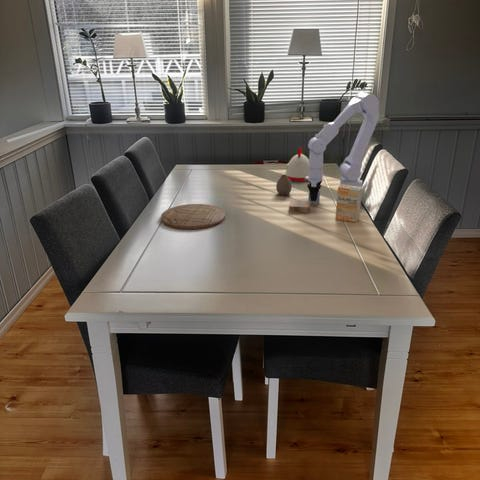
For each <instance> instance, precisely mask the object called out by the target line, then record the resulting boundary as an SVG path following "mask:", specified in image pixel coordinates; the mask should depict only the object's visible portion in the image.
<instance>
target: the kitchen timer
mask: <svg viewBox="0 0 480 480" xmlns="http://www.w3.org/2000/svg"><path fill="white" fill-rule="evenodd" d="M308 173H309V157H307V156H306V155H304V154H303V148H302V147H299V148H298V150H297V154H295V155H294V156H292V157H291V158H290V160H289V162H288V163H287V164H286V168H285V175H287V177H288V178H289V180H290V181H295V182H304V181H309V180H308V179H305V177H308Z"/></svg>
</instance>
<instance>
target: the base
mask: <svg viewBox="0 0 480 480" xmlns="http://www.w3.org/2000/svg"><path fill="white" fill-rule="evenodd" d="M310 202H311V201H308V200H303V199H302V200H298V199H291V200H290V201H289V205H288V213H294V214H295V213H296V214H309V213H310V210H311V203H310Z"/></svg>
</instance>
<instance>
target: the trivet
mask: <svg viewBox="0 0 480 480" xmlns="http://www.w3.org/2000/svg"><path fill="white" fill-rule="evenodd" d="M225 219H226V212H225V210H224V209H222V207H219V206H216V205H212V204H207V203H190V204H188V203H187V204H182V205H181V204H180V205H177V206H176V205H175V206H173V207H171V208H168V209H166V210H165V211H163V212H162V213H161V215H160V221H161V223H162V225H164V226H165V227H167V228H169V229H174V230H179V231H180V230H181V231H198V230H204V229H208V228H209V229H210V228H213V227H215V226H218V225H220V224H222V223H223V222H224V221H225Z"/></svg>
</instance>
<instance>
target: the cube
mask: <svg viewBox="0 0 480 480" xmlns="http://www.w3.org/2000/svg"><path fill="white" fill-rule="evenodd" d="M320 196H321V190H320V189H319V192H318V195H317V199H316V201H311V198H310V192H309V191H308V198H307V199H308V200H307V201H311V202H310V204H315V205H317V204H320V201H321V200H320V199H321V197H320Z"/></svg>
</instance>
